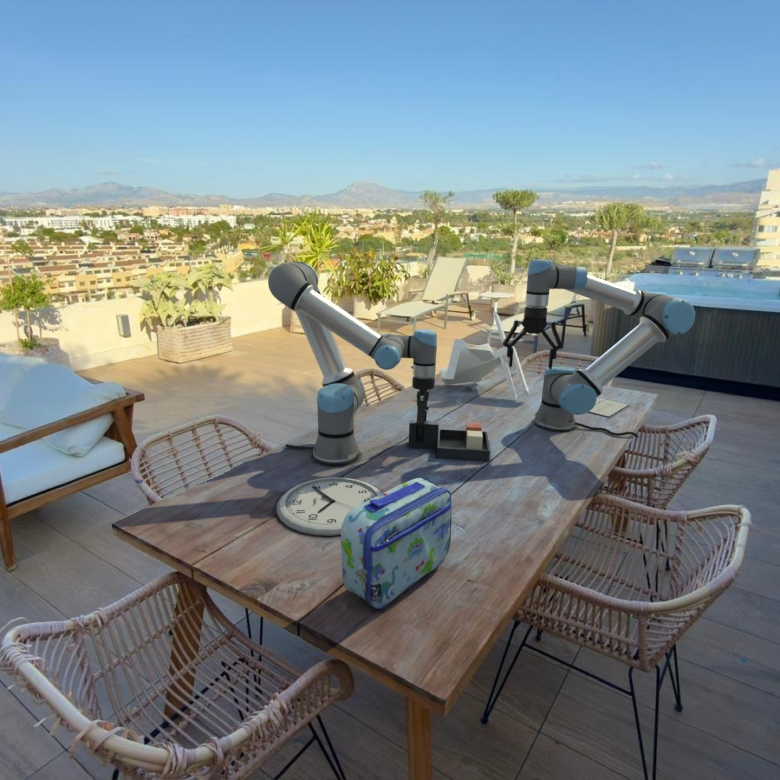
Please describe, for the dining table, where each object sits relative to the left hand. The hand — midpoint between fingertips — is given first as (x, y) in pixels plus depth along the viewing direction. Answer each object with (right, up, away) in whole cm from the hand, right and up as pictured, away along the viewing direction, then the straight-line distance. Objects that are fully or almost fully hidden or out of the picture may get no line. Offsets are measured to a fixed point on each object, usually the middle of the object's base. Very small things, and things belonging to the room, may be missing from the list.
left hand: (420, 435), depth 181 cm
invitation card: (+81, +8, +45) cm, 93 cm away
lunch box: (-9, -26, -68) cm, 73 cm away
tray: (+9, -4, 0) cm, 10 cm away
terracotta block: (+18, -3, +3) cm, 19 cm away
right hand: (+38, +24, +3) cm, 45 cm away
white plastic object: (+31, +14, +62) cm, 71 cm away
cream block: (+17, -6, -5) cm, 19 cm away
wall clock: (-26, -16, -38) cm, 49 cm away
